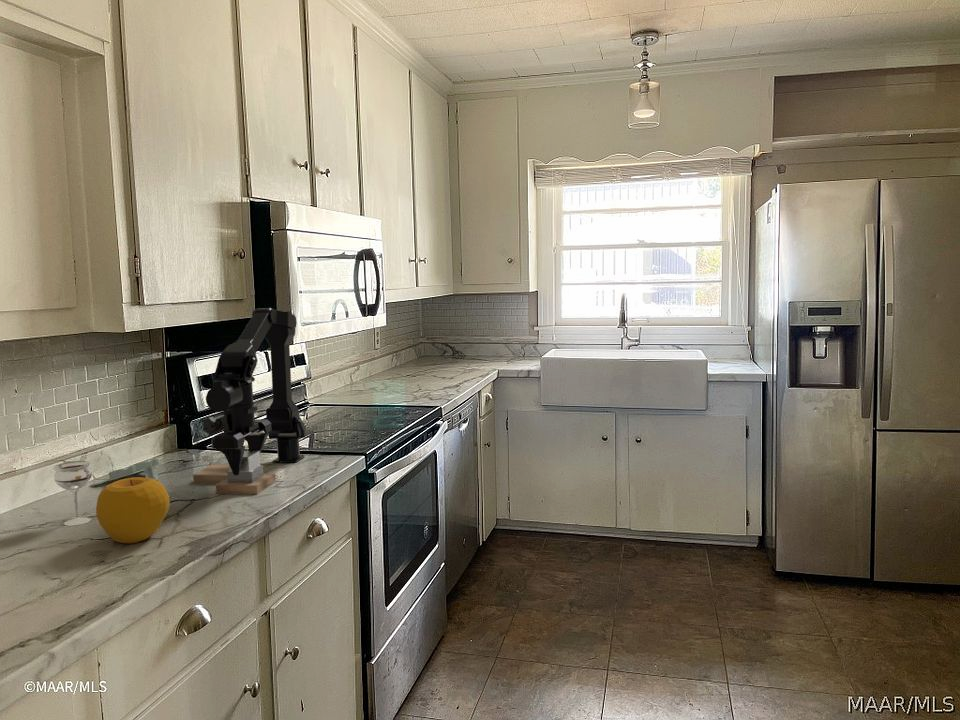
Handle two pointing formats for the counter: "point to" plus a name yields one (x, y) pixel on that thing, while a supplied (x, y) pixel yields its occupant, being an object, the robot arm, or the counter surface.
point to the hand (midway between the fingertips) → (245, 469)
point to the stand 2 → (246, 485)
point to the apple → (132, 508)
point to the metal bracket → (136, 470)
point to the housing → (247, 469)
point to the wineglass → (73, 483)
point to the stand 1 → (212, 474)
